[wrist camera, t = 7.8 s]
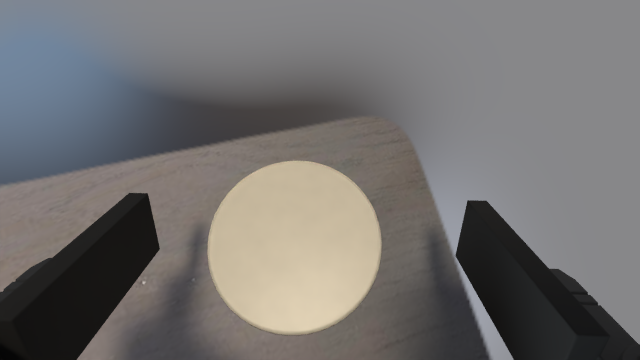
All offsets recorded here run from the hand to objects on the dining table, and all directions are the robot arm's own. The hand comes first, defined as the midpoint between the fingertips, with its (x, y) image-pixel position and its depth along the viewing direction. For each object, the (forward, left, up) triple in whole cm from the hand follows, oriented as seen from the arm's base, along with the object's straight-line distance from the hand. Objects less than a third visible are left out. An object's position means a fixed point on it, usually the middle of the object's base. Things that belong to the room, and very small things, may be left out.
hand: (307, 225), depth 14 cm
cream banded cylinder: (0, +2, -6) cm, 6 cm away
